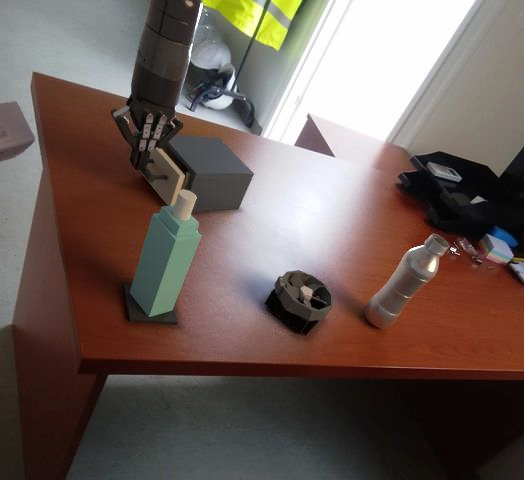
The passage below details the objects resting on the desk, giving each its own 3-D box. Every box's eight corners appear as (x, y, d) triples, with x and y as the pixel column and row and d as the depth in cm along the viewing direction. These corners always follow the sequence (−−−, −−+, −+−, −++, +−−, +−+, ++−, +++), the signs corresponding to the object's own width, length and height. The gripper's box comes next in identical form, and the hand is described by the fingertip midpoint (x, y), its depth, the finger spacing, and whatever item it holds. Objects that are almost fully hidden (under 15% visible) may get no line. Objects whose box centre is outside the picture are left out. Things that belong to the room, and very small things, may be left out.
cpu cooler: (343, 296, 81) (320, 320, 73) (327, 318, 84) (304, 342, 77) (297, 261, 82) (270, 281, 74) (283, 284, 86) (257, 305, 78)
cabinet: (182, 213, 87) (196, 173, 82) (149, 173, 92) (160, 133, 86) (238, 209, 97) (254, 173, 91) (206, 173, 101) (219, 137, 96)
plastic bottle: (371, 333, 87) (440, 252, 74) (354, 307, 91) (417, 226, 77) (394, 332, 91) (463, 255, 78) (376, 307, 94) (440, 229, 81)
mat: (128, 321, 64) (129, 318, 64) (123, 286, 68) (124, 283, 68) (176, 324, 67) (178, 322, 67) (169, 291, 71) (170, 289, 71)
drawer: (150, 208, 82) (160, 175, 78) (120, 170, 86) (127, 137, 82) (224, 204, 94) (236, 175, 89) (194, 171, 98) (204, 142, 93)
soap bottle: (148, 317, 65) (186, 209, 53) (129, 292, 67) (161, 182, 55) (172, 310, 68) (213, 206, 56) (153, 287, 70) (189, 181, 57)
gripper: (135, 71, 63) (113, 180, 75) (209, 83, 72) (179, 179, 84) (109, 44, 66) (92, 154, 78) (184, 59, 75) (158, 155, 86)
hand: (137, 167), depth 81 cm, fingers closed
